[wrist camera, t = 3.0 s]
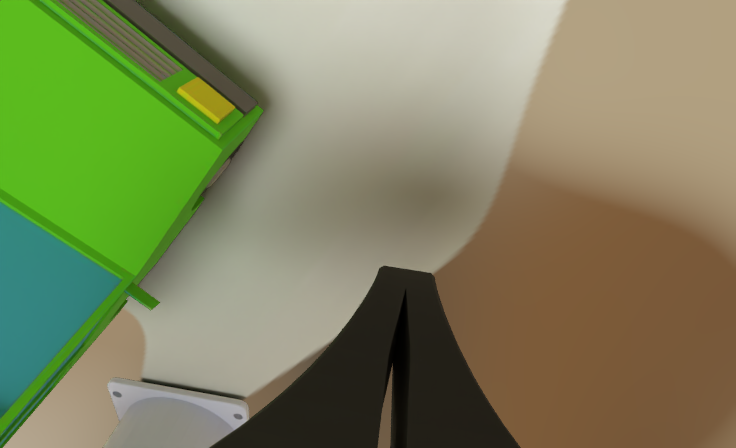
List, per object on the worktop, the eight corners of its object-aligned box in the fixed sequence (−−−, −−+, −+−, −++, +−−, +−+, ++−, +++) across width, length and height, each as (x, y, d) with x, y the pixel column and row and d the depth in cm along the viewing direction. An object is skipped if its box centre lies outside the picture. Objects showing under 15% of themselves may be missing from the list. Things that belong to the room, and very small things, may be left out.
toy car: (310, 114, 16) (166, 307, 8) (152, 306, 22) (-20, 527, 14) (37, -117, 13) (-635, -208, 5) (-53, 175, 20) (-417, 350, 11)
